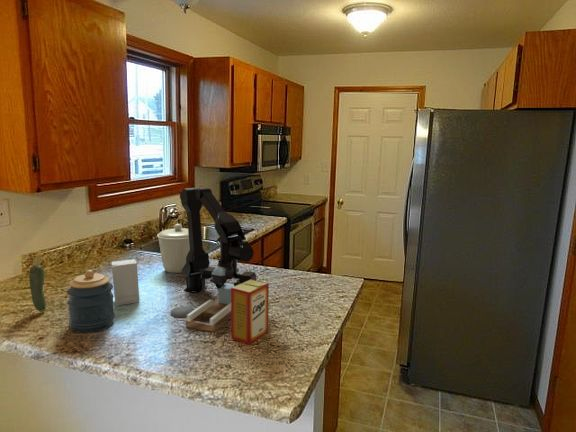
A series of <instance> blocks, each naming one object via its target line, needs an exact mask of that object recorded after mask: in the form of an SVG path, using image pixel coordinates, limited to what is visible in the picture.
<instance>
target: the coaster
mask: <svg viewBox="0 0 576 432" xmlns="http://www.w3.org/2000/svg"><path fill="white" fill-rule="evenodd" d="M195 309H196V308H194V307H192V306H178V307H174V308H173V309H171V310H170V316H172V317H173V318H178V319H179V318H187V315H188V314H189V313H191V312H192V311H193V310H195Z"/></svg>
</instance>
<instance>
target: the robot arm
mask: <svg viewBox="0 0 576 432" xmlns="http://www.w3.org/2000/svg"><path fill="white" fill-rule="evenodd" d="M179 200H180V204H181V207H182V208H183V209H184V211H185V213H186V218H187V222H186V223H187V229H188V234H189V246H190V250H189V252H188V254H187V256H186V264H185V265H184V267H183V268H182V273H181V274H182V276H185V280H186V281H185V282H186V283H185V284H186V286H185V287H186V288H184V289H183V291H185V292H189V293H190V292H191V293H201V292H202V291H203V290H205V289H207V286H206V280H209V282H210V283H213V284H214V285H215V287H216V288H217V290H218V289H219V288H220V287H222V286H223V285H225V284H226V283H227V281H228V280H233V279H234V280H236V281H235V282H234V283H233V284H234V286H237V285H239V284H242V283H244V282H246V281H248V280H251V279H252V280H256V281H258V280H257V279H258V277H257V274H256V272H254V271H244V272H243V273H238V272H239V271H240V269H239V268H238V261H240V262H241V263H248V262H250V261H251V260H252V259H253V258H254V253H255V251H254V249H253V247H252V245H250V244H249V243H250V242H249V240H246V239H247V238H246V236H245V232H244V230H243V227H242V226H241V223H240V222H239V220H238V219H237V218H236V217H235V216H234V215H232V214H229V213H228V212H227V211H226V210H225V209H224V208H223V206H222V205H221V203H220V202H219V201H218V199H217V198H216V196H214V194H213V191H212V189H211V188H209V187H201V188H200V187H188V188H186V187H185V188H182V190H181V192H180V193H179ZM203 207H204V208H205V210H206V211H207V213H208V214H209V215H210V217H211V218H212V220H213V222H214V229H215V232H216V233H217V235H218V236H219V237H218V238H217V239H216V241H217V242H219V244H220V247H219V248H220V249H219V250H220V251H219V253H220V254H219V258H220V259H218V261H217V266H214V267H213V266H210V263H211V262H210V254H209V252H206V250H205V249H204V247H203V246H204V243H203V237H202V236H203V235H202V234H203V233H202V231H203V230H202V223H201V220H202V219H201V210H202V208H203Z"/></svg>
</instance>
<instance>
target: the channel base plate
mask: <svg viewBox="0 0 576 432" xmlns="http://www.w3.org/2000/svg"><path fill="white" fill-rule="evenodd" d="M227 305H228V304H224V303H218V297H217V298H216V299H215V300H212V306H211V307H209V308H208V309H207V310H205V311H204V312H202V313H201V314H200V315H198V316H197V317H195V318H194V319H193V320H191V321H187V319H186V320H185V327H186V328H191V329H197V330H200V331H201V330H202V331H208V332H211V333H215V332H216V331H217V330H219V329H220V328H221V327H222V326H223V325H224V324H225V323H227V322H228V321H229V320H230V319H231V311H230V312H229V313H228V314H226V315H225V316H224V317H223V318H222V319H220V320H219V321H218V322H217V323H215V324H214V325H213V326H212V325H210V318H212V317H213V316H214V315H215V314H217V313H218V312H219V311H221V310H222V309H223V308H225V307H226V306H227Z"/></svg>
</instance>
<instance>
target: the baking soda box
mask: <svg viewBox="0 0 576 432" xmlns="http://www.w3.org/2000/svg"><path fill="white" fill-rule="evenodd" d="M269 285H270V284H269V283H268V282H264V281H260V280H252V279H251V280H248V281H246V282H244V283H242V284H239V285H237V286H235V287H232V288H231V318H230V319H231V321H230V322H231V325H230V326H231V331H230V333H231V334H230V336H231V337H230V338H231V340H235V341H236V342H237V341H238V342H241V343H244V344H247V345H250V344H252V343H254V342H255V341H257V340H258V339H260V338H261V337H264V336H265V335H266V334H268V333H269V295H270V294H269V287H270V286H269Z"/></svg>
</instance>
